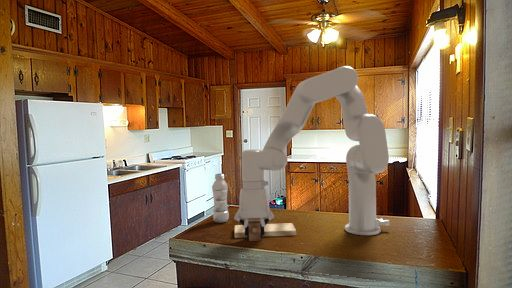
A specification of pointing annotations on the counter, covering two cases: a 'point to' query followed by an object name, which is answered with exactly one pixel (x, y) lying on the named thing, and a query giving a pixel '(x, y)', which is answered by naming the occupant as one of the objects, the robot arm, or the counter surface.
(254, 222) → the brown handled block
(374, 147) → the robot arm
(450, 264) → the counter surface
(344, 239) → the counter surface
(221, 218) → the plastic bottle
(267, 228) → the board
